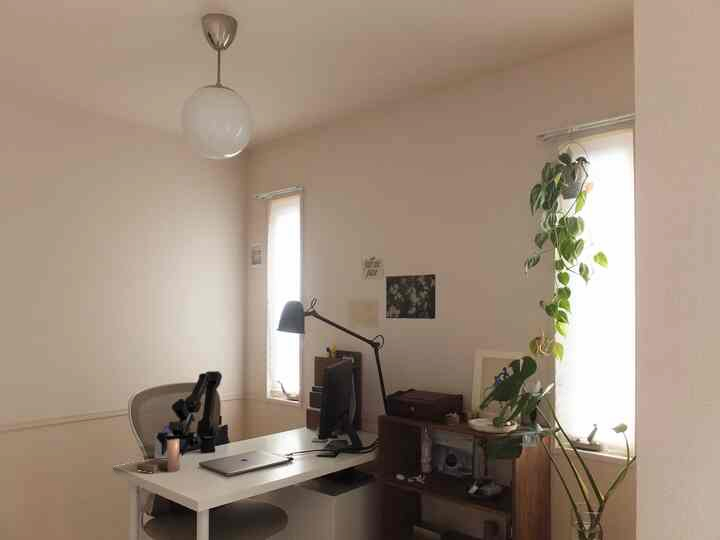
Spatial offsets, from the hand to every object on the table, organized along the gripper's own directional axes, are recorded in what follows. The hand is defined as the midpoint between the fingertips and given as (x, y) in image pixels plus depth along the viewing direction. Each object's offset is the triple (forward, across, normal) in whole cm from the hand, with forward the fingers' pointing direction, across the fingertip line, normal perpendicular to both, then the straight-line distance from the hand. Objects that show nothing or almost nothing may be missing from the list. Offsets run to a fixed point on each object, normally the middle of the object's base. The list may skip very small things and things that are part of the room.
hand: (171, 455), depth 241 cm
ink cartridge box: (-11, -16, +21) cm, 29 cm away
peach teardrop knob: (+4, 0, +6) cm, 7 cm away
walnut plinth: (+3, -10, +6) cm, 12 cm away
